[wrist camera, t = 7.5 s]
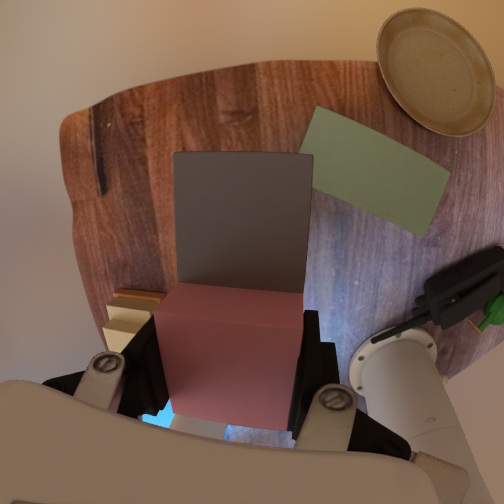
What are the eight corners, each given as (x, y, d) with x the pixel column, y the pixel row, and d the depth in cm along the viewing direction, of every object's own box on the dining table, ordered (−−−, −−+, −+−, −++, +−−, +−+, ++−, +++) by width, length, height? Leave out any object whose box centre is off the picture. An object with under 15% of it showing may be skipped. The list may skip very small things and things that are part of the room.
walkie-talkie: (504, 233, 24) (358, 309, 29) (525, 282, 22) (378, 363, 27) (487, 248, 30) (360, 312, 35) (505, 290, 27) (376, 358, 32)
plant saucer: (372, 0, 21) (377, -10, 18) (483, 43, 19) (493, 38, 17) (365, 117, 26) (371, 114, 23) (481, 153, 24) (493, 155, 22)
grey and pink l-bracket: (185, 151, 10) (139, 154, 7) (312, 154, 10) (318, 154, 7) (197, 368, 14) (173, 417, 11) (290, 380, 13) (286, 435, 10)
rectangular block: (416, 166, 26) (451, 172, 19) (395, 217, 29) (423, 238, 21) (311, 117, 27) (316, 105, 19) (291, 171, 29) (289, 178, 21)
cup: (172, 395, 42) (133, 472, 27) (218, 393, 40) (187, 481, 25) (193, 426, 44) (164, 499, 29) (236, 425, 43) (214, 506, 28)
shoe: (118, 288, 37) (94, 309, 31) (164, 293, 36) (143, 317, 30) (139, 372, 42) (123, 397, 36) (180, 380, 41) (166, 408, 35)
